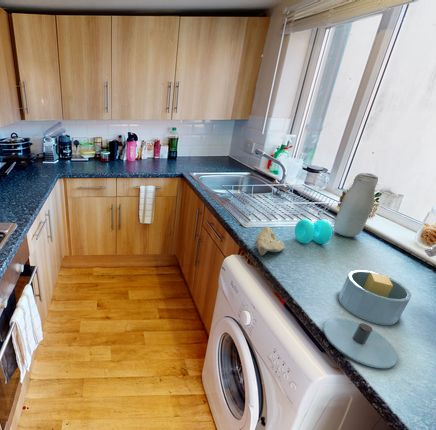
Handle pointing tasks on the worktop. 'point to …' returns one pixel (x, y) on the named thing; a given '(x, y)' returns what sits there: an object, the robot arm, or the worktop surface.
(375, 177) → the grey bottle
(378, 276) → the butter
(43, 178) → the worktop surface
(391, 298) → the pot
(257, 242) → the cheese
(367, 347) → the pot lid
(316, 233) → the donuts
